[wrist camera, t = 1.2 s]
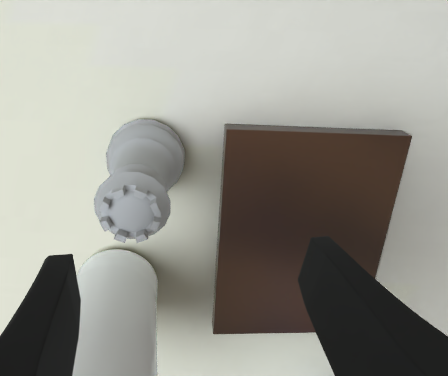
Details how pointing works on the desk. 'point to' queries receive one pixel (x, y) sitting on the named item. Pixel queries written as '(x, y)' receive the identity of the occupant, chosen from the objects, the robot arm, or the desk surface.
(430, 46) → the desk surface
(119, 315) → the drinking glass
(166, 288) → the desk surface
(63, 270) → the robot arm
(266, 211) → the walnut board
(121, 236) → the rook chess piece
